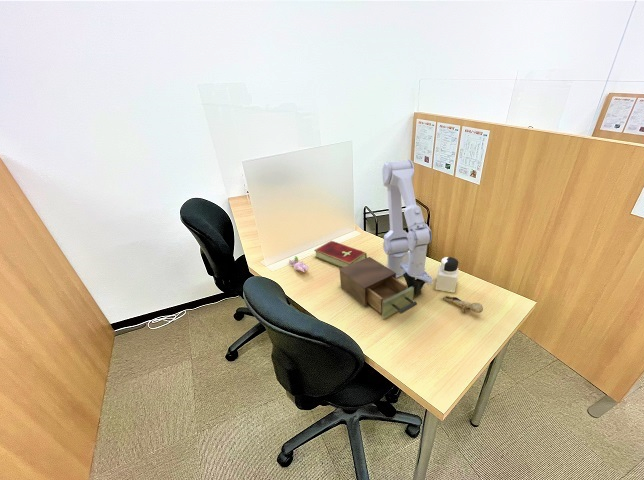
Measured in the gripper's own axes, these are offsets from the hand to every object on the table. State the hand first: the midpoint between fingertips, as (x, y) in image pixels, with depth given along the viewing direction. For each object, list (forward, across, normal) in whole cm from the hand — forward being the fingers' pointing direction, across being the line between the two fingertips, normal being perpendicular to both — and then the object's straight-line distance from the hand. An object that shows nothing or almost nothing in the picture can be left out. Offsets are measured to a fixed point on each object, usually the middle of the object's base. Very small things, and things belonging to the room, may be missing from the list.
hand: (413, 291), depth 108 cm
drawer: (+1, +1, +12) cm, 12 cm away
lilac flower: (+2, +44, +26) cm, 51 cm away
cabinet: (+1, +14, +12) cm, 18 cm away
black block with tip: (+1, 0, -1) cm, 2 cm away
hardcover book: (+2, +40, +6) cm, 41 cm away
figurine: (+2, -16, -8) cm, 18 cm away
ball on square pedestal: (+2, -4, -14) cm, 14 cm away
